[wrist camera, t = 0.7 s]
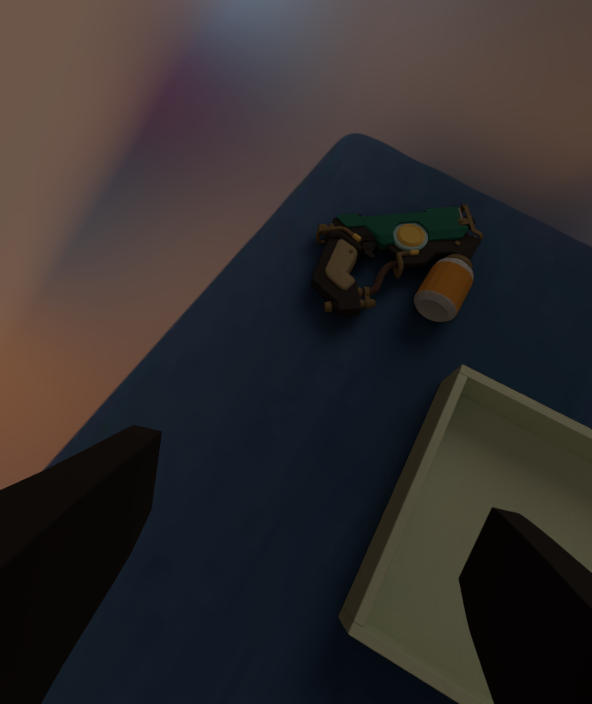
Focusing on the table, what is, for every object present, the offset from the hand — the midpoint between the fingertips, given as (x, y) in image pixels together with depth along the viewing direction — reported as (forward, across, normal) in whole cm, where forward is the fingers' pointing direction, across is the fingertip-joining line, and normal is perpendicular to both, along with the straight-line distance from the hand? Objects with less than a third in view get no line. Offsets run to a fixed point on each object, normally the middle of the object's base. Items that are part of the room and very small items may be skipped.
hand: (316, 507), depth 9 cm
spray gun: (+37, -7, -2) cm, 38 cm away
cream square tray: (+20, -20, +16) cm, 33 cm away
